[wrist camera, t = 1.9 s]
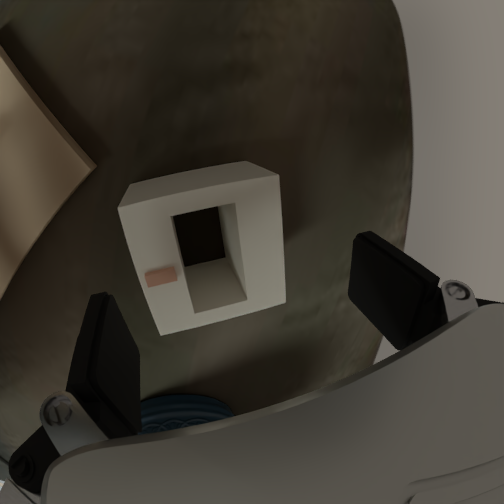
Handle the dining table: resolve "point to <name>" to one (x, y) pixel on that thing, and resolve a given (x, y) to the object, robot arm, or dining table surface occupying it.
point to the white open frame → (234, 239)
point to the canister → (180, 412)
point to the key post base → (31, 168)
